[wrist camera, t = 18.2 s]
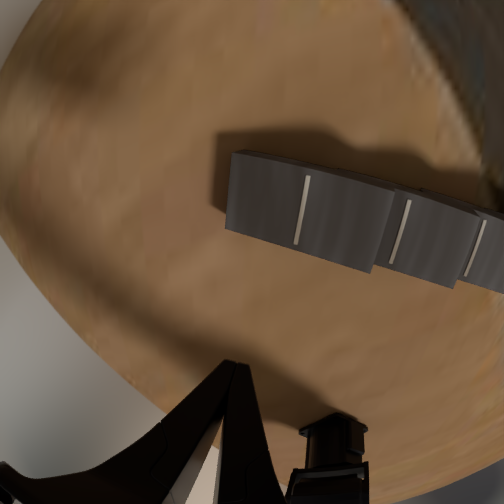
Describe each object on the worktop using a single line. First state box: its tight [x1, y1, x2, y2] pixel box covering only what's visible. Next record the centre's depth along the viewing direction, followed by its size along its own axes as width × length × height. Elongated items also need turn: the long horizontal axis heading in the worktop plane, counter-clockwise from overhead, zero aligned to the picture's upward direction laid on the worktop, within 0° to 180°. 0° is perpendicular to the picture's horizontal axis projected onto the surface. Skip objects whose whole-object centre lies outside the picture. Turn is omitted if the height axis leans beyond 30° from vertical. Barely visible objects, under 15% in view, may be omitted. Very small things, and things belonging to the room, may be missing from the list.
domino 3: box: [421, 188, 504, 294], centre depth 16 cm, size 2×5×10 cm
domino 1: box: [225, 150, 395, 274], centre depth 17 cm, size 2×5×10 cm
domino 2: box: [337, 168, 481, 289], centre depth 17 cm, size 2×5×10 cm
